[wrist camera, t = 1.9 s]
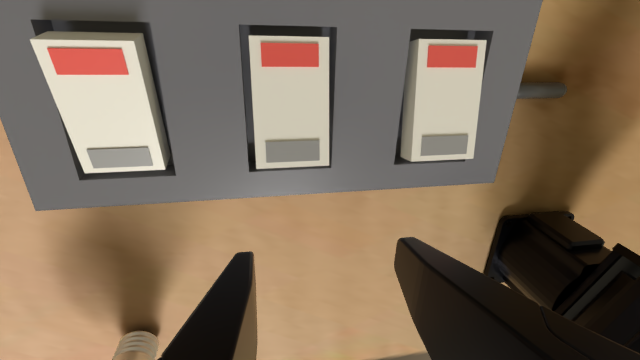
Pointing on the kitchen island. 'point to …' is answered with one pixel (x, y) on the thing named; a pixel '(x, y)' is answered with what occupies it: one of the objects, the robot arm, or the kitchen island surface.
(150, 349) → the lightbulb
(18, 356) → the kitchen island surface
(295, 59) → the rocker middle
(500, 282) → the robot arm
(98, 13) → the rocker switch panel
